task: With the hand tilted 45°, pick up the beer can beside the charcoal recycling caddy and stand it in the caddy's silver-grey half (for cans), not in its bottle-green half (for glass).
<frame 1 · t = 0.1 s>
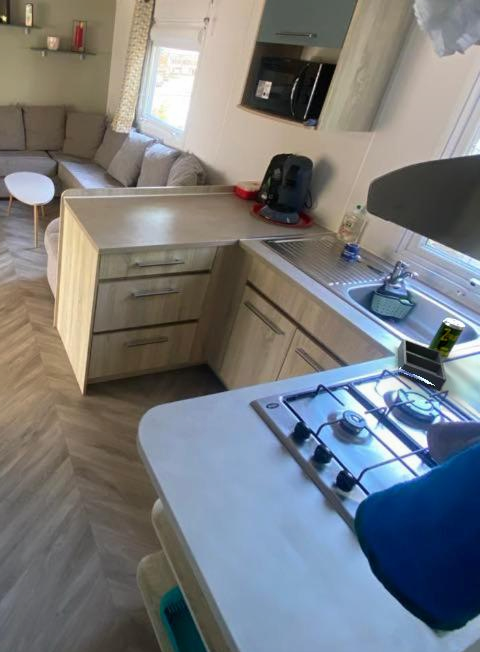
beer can: (436, 354, 136), on the counter
caddy: (417, 368, 126), on the counter
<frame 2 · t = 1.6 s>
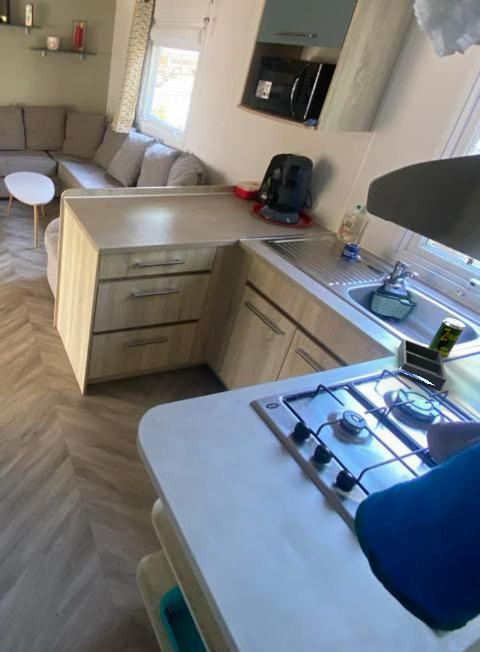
nothing on the counter moved.
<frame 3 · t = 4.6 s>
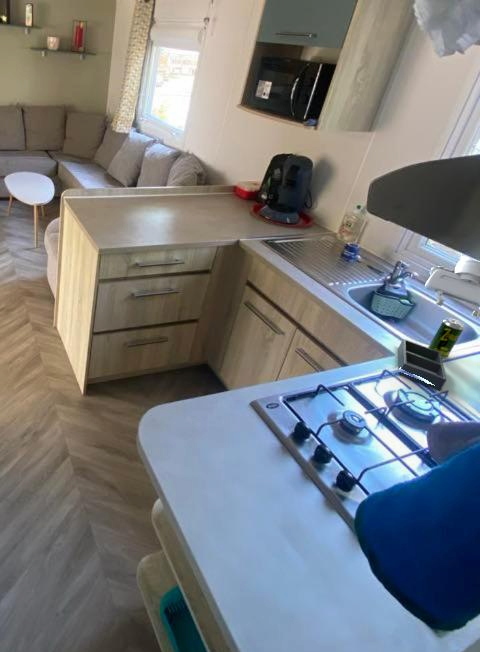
hand: (456, 310, 136), 13 cm above the counter, tool tilted 45°, fingers open, 8 cm apart
nothing on the counter moved.
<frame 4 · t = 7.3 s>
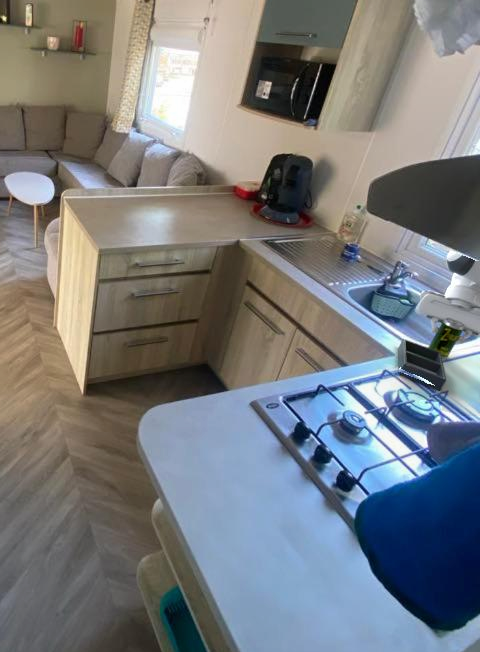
hand: (446, 337, 133), 7 cm above the counter, tool tilted 45°, fingers closed on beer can, 5 cm apart
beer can: (436, 354, 136), on the counter, touching gripper
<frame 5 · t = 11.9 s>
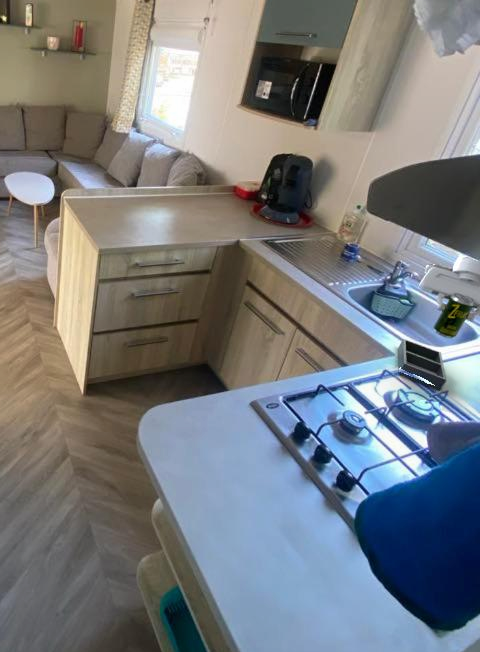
hand: (454, 315, 118), 19 cm above the counter, tool tilted 45°, fingers closed on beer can, 5 cm apart
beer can: (443, 334, 121), point 13 cm above the counter, touching gripper
when the fingers open (8 cm above the counter, at t = 16.3 s): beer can stays where it is, resting on caddy.
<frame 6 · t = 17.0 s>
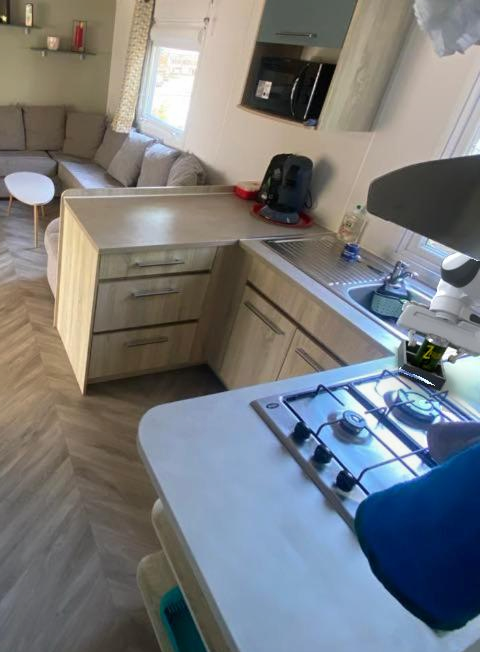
hand: (430, 354, 119), 8 cm above the counter, tool tilted 45°, fingers open, 8 cm apart
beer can: (418, 372, 123), point 1 cm above the counter, touching caddy
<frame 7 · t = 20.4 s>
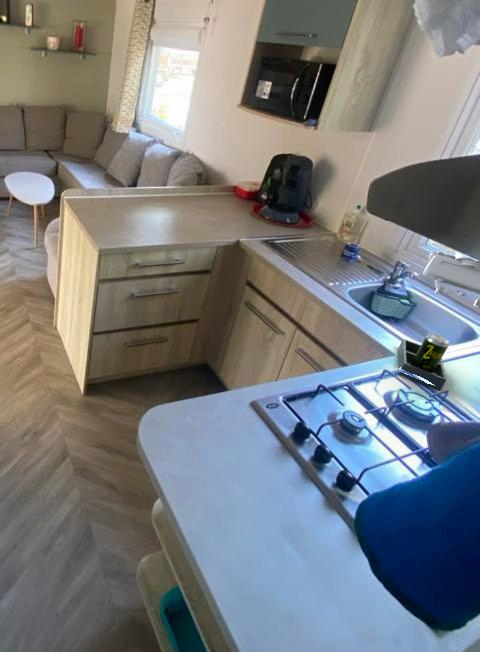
hand: (457, 299, 125), 21 cm above the counter, tool tilted 45°, fingers open, 8 cm apart
nothing on the counter moved.
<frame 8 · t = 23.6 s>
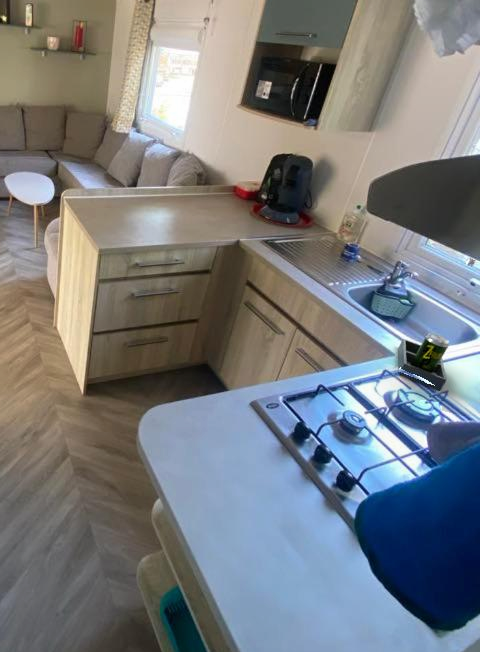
nothing on the counter moved.
at the end: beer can inside the target area on the caddy (0.1 cm from its centre), point 0.8 cm above the caddy's base; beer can tilted 0°; the gripper is holding nothing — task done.
